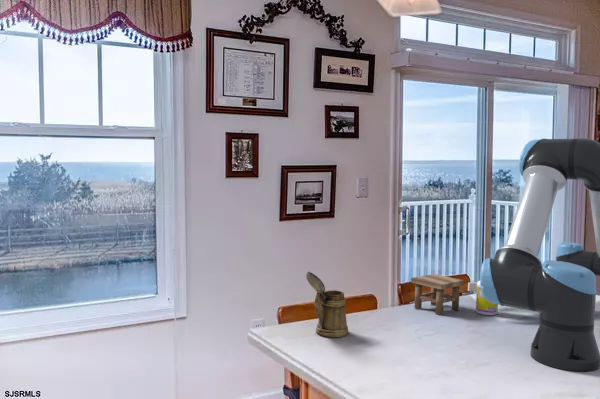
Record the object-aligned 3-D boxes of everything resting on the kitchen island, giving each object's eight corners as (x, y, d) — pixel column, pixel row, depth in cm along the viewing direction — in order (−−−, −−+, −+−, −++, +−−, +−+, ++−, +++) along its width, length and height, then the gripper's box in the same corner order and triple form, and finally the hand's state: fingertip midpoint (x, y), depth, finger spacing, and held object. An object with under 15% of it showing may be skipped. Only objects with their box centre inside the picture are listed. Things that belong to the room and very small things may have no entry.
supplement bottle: (480, 309, 173) (481, 270, 173) (500, 313, 169) (502, 273, 168) (472, 313, 168) (474, 273, 167) (493, 317, 164) (495, 276, 163)
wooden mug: (296, 334, 143) (297, 268, 142) (333, 326, 151) (335, 264, 150) (317, 343, 136) (318, 274, 135) (355, 334, 144) (357, 269, 143)
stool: (440, 316, 163) (441, 284, 163) (410, 307, 173) (411, 277, 172) (463, 310, 171) (464, 280, 170) (433, 302, 180) (434, 273, 180)
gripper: (563, 312, 159) (497, 314, 156) (518, 293, 183) (460, 293, 180) (564, 288, 158) (498, 289, 155) (519, 271, 183) (461, 272, 180)
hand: (478, 291), depth 168 cm, fingers open, 13 cm apart
